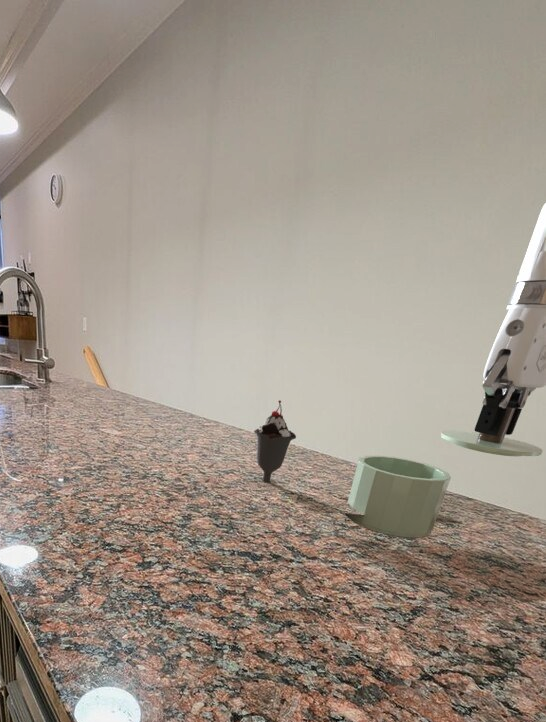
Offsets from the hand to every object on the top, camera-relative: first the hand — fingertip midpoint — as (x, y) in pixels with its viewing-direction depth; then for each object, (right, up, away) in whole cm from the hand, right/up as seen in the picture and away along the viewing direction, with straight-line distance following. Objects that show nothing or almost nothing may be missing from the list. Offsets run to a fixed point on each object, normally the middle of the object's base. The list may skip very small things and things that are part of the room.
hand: (493, 432), depth 68 cm
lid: (0, -2, +1) cm, 2 cm away
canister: (-16, -13, 0) cm, 21 cm away
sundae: (-33, -9, +8) cm, 35 cm away
